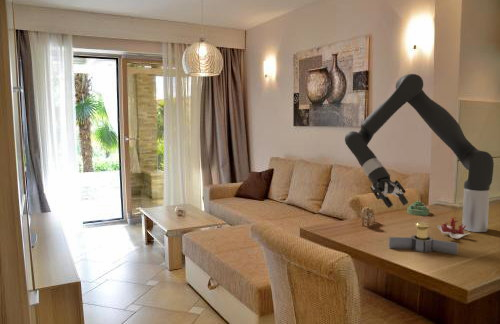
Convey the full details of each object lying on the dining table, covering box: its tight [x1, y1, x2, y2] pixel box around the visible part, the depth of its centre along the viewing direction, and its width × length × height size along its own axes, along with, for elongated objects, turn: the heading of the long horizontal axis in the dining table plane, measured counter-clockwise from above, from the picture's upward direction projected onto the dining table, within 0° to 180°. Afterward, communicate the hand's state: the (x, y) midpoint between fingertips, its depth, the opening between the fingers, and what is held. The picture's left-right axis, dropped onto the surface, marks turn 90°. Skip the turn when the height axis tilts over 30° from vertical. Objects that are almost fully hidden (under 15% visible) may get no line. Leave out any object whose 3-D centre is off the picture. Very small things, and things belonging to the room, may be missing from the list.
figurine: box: [436, 217, 471, 240], centre depth 156 cm, size 15×12×7 cm
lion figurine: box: [359, 206, 376, 227], centre depth 175 cm, size 15×5×9 cm, turn 156°
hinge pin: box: [414, 221, 431, 240], centre depth 142 cm, size 5×5×9 cm
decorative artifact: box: [406, 199, 430, 217], centre depth 195 cm, size 10×7×10 cm
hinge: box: [388, 234, 459, 256], centre depth 141 cm, size 10×22×4 cm, turn 55°
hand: (398, 205), depth 150 cm, fingers open, 8 cm apart
